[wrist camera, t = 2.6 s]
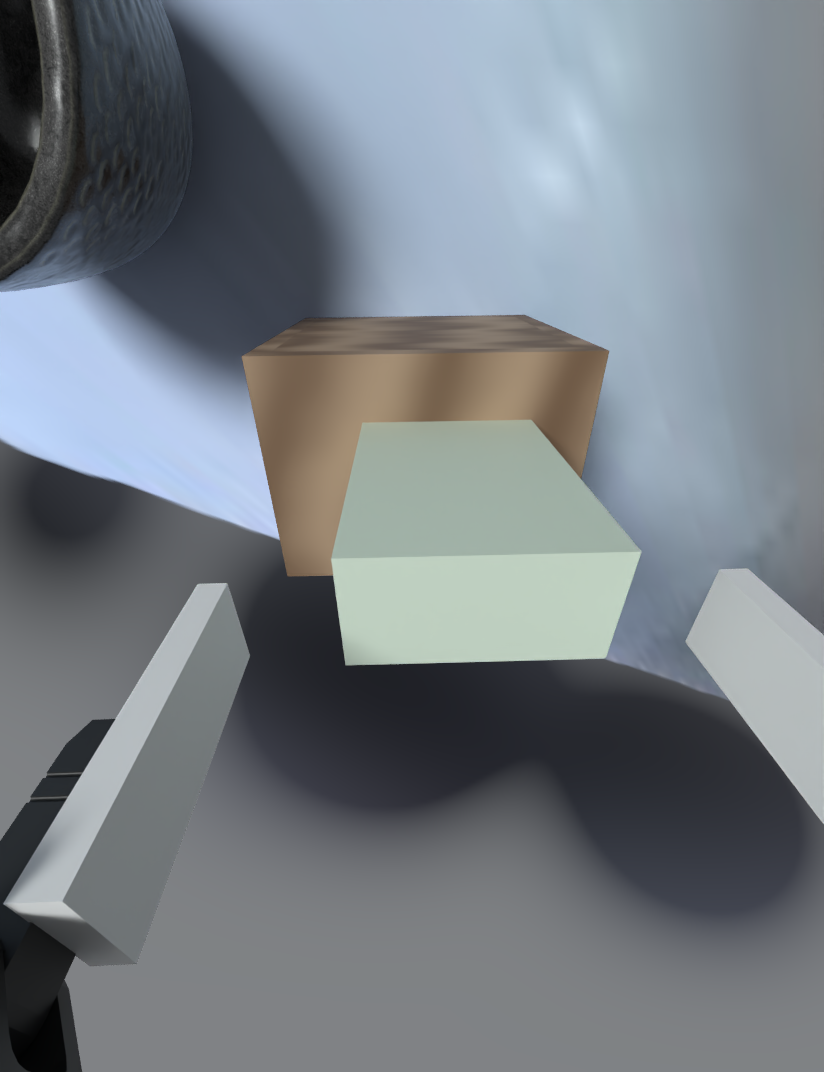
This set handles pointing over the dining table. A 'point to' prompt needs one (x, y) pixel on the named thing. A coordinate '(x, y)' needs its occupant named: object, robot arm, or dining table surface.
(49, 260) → the planter
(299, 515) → the wood-grain box
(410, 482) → the pale green block
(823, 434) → the dining table surface
